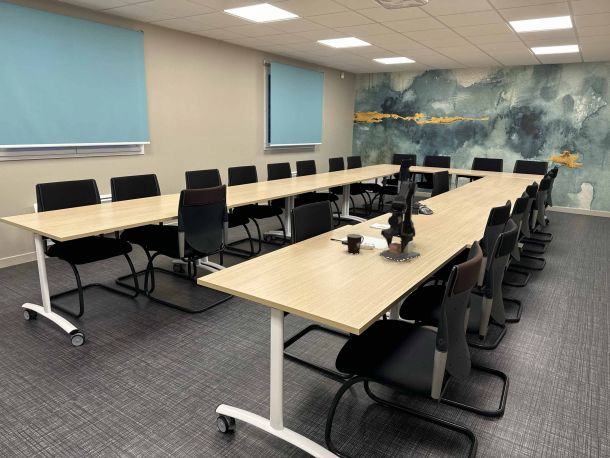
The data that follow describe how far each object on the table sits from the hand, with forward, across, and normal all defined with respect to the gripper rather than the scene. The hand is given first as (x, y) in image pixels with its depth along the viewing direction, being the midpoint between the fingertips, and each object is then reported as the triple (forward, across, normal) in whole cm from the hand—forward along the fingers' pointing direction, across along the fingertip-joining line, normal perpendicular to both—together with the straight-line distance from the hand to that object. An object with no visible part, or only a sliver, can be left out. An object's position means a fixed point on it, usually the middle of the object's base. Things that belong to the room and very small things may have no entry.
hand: (395, 250), depth 237 cm
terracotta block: (+2, 0, 0) cm, 2 cm away
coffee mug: (+4, -19, -12) cm, 23 cm away
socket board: (+4, 0, +4) cm, 6 cm away
